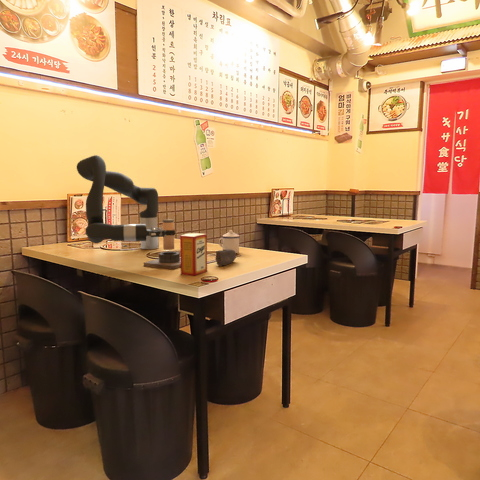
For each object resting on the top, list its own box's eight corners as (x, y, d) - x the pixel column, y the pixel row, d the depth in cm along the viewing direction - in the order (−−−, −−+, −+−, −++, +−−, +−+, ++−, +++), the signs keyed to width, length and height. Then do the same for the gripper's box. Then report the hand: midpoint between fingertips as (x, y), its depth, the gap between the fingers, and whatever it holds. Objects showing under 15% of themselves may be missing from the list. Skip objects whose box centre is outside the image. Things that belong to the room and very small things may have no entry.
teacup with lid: (242, 252, 209) (242, 230, 207) (233, 254, 201) (233, 232, 200) (223, 250, 215) (223, 228, 214) (214, 252, 208) (214, 230, 206)
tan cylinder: (167, 247, 180) (167, 219, 179) (176, 248, 178) (176, 219, 176) (160, 249, 176) (160, 219, 174) (169, 250, 174) (169, 220, 172)
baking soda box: (193, 269, 168) (193, 232, 166) (207, 271, 165) (206, 232, 163) (181, 274, 160) (180, 234, 157) (194, 275, 157) (194, 235, 154)
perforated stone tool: (230, 260, 187) (230, 246, 186) (240, 262, 184) (240, 247, 183) (211, 266, 174) (211, 250, 173) (221, 267, 172) (221, 252, 171)
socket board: (166, 259, 189) (166, 249, 188) (194, 262, 181) (194, 252, 181) (143, 265, 175) (143, 254, 174) (172, 269, 168) (172, 258, 167)
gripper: (134, 225, 166) (175, 225, 169) (135, 222, 180) (174, 222, 183) (134, 243, 167) (175, 242, 170) (136, 238, 181) (174, 238, 184)
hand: (174, 231), depth 176 cm, fingers closed on tan cylinder, 4 cm apart
